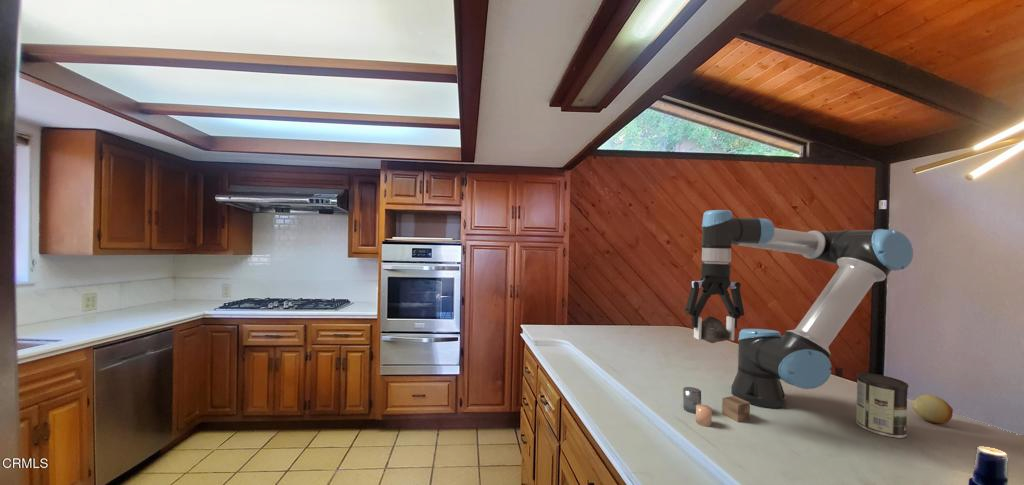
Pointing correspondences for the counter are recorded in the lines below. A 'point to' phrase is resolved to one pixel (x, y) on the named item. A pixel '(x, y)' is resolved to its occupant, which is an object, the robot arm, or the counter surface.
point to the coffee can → (882, 405)
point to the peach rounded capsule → (703, 415)
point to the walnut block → (736, 408)
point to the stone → (713, 330)
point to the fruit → (932, 409)
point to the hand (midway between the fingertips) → (713, 338)
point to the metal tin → (691, 399)
